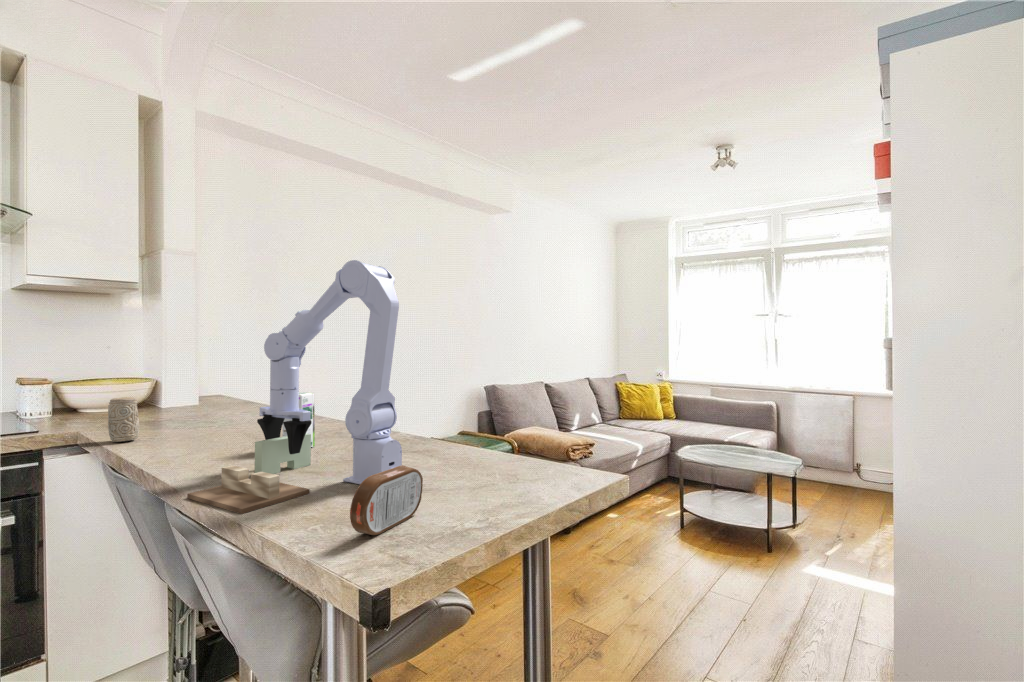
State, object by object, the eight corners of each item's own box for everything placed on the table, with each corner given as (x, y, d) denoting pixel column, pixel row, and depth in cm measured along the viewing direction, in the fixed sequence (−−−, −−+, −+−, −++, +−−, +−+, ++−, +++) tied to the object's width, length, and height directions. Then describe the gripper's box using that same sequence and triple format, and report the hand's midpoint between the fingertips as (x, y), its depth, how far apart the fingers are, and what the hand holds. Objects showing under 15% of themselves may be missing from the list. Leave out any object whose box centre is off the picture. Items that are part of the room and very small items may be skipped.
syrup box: (301, 451, 128) (302, 394, 128) (281, 450, 129) (281, 393, 129) (315, 447, 134) (315, 392, 134) (295, 446, 135) (295, 391, 135)
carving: (120, 439, 142) (121, 396, 142) (145, 439, 141) (146, 397, 141) (100, 443, 136) (101, 399, 136) (126, 444, 135) (127, 399, 135)
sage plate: (303, 463, 115) (303, 433, 115) (310, 465, 114) (310, 434, 114) (254, 475, 105) (254, 441, 105) (261, 477, 104) (262, 443, 104)
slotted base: (309, 493, 93) (309, 469, 93) (241, 513, 82) (242, 486, 82) (255, 481, 101) (255, 459, 101) (187, 498, 89) (187, 473, 89)
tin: (410, 509, 85) (410, 459, 85) (426, 512, 83) (426, 461, 83) (347, 541, 71) (348, 481, 71) (365, 545, 70) (366, 484, 70)
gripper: (246, 388, 110) (246, 451, 110) (290, 392, 103) (289, 459, 103) (275, 386, 116) (275, 445, 116) (318, 389, 109) (318, 452, 109)
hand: (283, 451), depth 110 cm, fingers open, 7 cm apart
